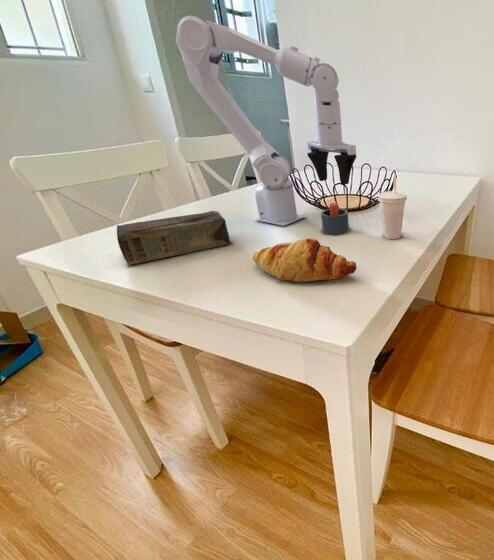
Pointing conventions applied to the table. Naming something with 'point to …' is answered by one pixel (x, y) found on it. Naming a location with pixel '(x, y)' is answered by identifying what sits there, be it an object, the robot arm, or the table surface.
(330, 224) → the cup
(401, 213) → the smoothie
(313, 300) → the table surface
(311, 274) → the croissant
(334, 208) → the red rectangular block
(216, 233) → the coffee bag
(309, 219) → the table surface
